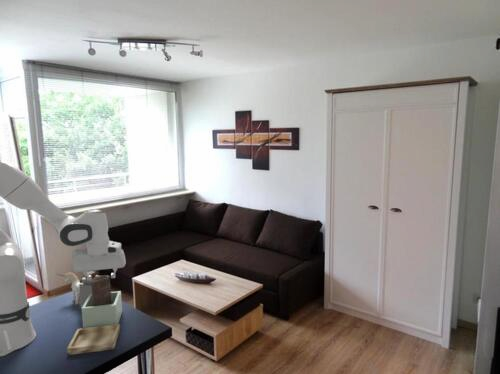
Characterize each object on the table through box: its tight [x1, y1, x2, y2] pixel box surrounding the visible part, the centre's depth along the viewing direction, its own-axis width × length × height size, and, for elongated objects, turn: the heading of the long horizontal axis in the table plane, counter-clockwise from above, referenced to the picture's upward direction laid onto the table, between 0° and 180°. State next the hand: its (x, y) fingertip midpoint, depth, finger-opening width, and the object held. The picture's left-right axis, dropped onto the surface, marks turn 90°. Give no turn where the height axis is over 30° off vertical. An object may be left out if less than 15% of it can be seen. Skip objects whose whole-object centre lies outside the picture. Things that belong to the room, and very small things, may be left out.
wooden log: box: [91, 274, 112, 306], centre depth 143 cm, size 8×7×20 cm
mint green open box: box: [81, 290, 123, 328], centre depth 144 cm, size 13×13×10 cm
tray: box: [66, 323, 121, 356], centre depth 130 cm, size 16×13×2 cm
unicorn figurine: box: [56, 272, 82, 306], centre depth 161 cm, size 7×20×13 cm, turn 61°
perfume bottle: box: [79, 270, 99, 310], centre depth 153 cm, size 7×7×18 cm
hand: (101, 278), depth 142 cm, fingers open, 8 cm apart
